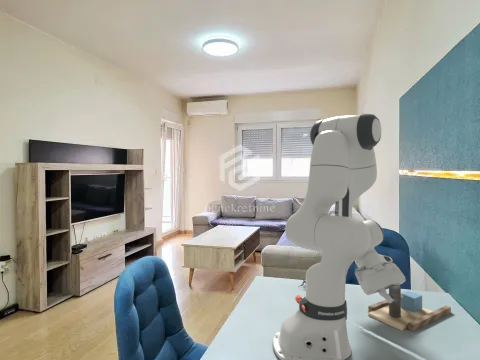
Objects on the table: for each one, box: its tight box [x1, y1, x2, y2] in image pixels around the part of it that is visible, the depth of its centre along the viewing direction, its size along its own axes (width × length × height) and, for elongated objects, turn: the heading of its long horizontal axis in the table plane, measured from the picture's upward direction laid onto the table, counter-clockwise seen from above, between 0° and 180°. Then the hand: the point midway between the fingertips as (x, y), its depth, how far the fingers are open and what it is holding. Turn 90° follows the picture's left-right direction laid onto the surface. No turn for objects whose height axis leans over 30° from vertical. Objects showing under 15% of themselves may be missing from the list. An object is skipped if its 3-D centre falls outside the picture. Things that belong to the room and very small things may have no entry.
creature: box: [298, 279, 306, 290], centre depth 133 cm, size 8×5×8 cm
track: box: [367, 299, 452, 332], centre depth 107 cm, size 24×16×3 cm, turn 121°
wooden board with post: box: [367, 285, 434, 331], centre depth 104 cm, size 20×12×11 cm, turn 121°
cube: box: [401, 290, 423, 313], centre depth 107 cm, size 5×5×5 cm
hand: (396, 300), depth 101 cm, fingers closed on wooden board with post, 4 cm apart
